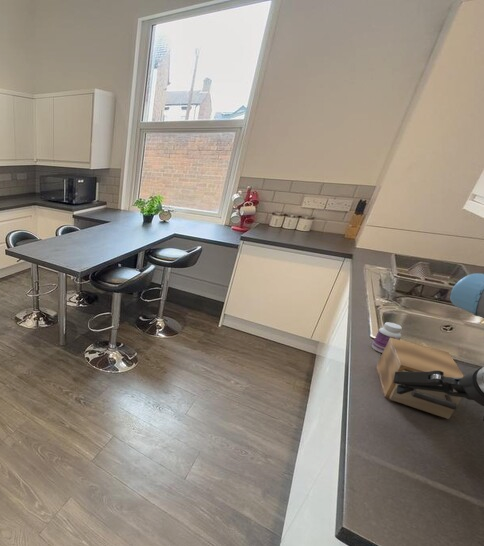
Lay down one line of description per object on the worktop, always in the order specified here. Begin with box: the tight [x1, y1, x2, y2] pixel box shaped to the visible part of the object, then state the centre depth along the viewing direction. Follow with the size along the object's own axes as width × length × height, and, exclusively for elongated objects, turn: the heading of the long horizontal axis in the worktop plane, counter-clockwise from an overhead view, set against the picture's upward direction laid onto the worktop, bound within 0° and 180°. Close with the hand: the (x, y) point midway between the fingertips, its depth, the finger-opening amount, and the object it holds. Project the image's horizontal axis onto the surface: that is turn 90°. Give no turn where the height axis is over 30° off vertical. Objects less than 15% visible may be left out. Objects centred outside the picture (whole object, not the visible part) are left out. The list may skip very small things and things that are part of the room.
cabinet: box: [375, 338, 465, 400], centre depth 84 cm, size 16×12×11 cm
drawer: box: [389, 369, 463, 420], centre depth 81 cm, size 19×11×9 cm, turn 144°
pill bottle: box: [371, 321, 403, 354], centre depth 102 cm, size 5×5×10 cm
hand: (440, 401), depth 70 cm, fingers open, 13 cm apart
